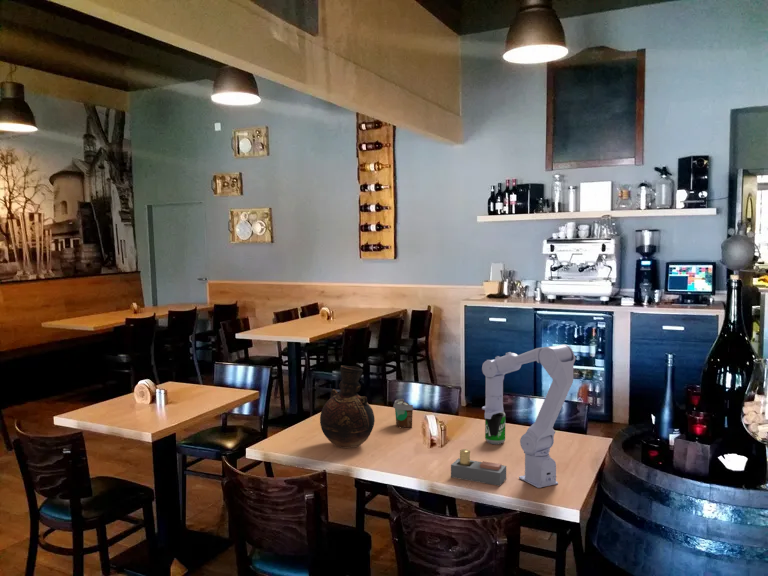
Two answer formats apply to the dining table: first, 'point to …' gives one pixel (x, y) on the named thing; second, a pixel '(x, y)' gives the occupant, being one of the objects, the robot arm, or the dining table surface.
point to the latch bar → (490, 465)
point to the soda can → (501, 433)
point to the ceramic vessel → (347, 412)
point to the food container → (403, 414)
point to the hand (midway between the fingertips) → (493, 435)
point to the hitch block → (478, 473)
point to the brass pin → (465, 457)
